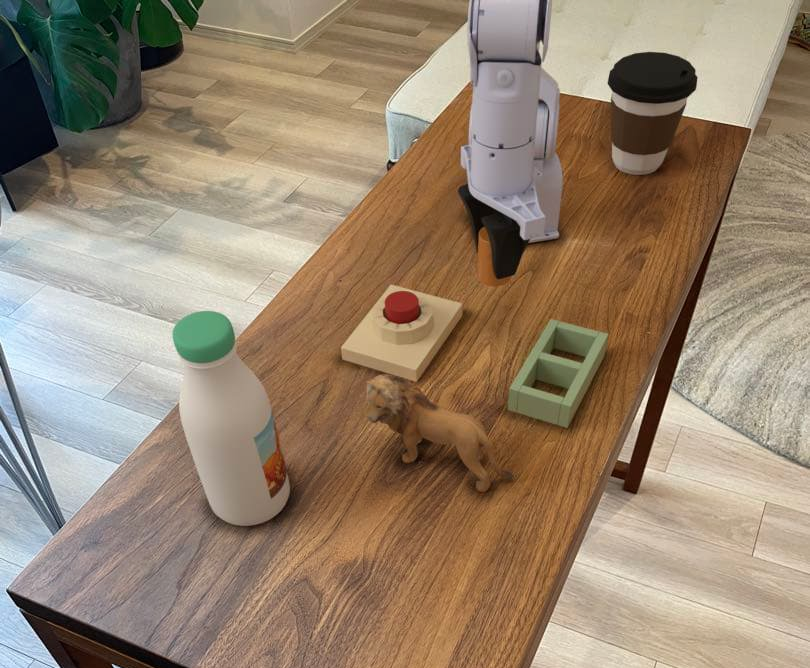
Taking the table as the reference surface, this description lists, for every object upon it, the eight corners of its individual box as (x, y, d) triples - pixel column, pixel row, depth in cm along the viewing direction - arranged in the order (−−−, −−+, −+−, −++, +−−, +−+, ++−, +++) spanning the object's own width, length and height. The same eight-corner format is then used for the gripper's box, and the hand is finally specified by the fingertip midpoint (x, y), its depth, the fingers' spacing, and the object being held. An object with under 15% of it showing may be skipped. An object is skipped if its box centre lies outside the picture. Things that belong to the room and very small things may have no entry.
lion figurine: (360, 462, 81) (352, 393, 74) (381, 425, 84) (375, 356, 77) (505, 500, 77) (511, 432, 70) (521, 460, 80) (528, 391, 73)
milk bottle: (257, 541, 76) (207, 374, 60) (193, 508, 78) (128, 340, 63) (307, 485, 80) (272, 314, 64) (244, 456, 82) (195, 285, 66)
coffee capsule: (470, 279, 86) (471, 236, 82) (488, 262, 88) (490, 219, 84) (501, 290, 85) (503, 247, 81) (518, 272, 87) (521, 229, 83)
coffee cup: (687, 151, 113) (709, 57, 104) (666, 191, 107) (687, 96, 98) (609, 136, 116) (623, 44, 107) (584, 175, 111) (597, 81, 101)
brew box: (391, 296, 97) (389, 270, 94) (462, 315, 94) (462, 289, 91) (342, 359, 90) (338, 334, 88) (416, 382, 88) (415, 356, 85)
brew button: (394, 300, 91) (394, 287, 90) (424, 309, 90) (424, 295, 89) (379, 320, 89) (378, 306, 88) (410, 328, 88) (409, 315, 87)
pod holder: (604, 356, 89) (608, 333, 87) (567, 428, 83) (570, 406, 80) (547, 340, 91) (550, 318, 88) (507, 410, 85) (509, 388, 82)
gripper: (582, 161, 71) (564, 294, 82) (509, 89, 80) (501, 219, 90) (507, 180, 70) (499, 312, 81) (441, 105, 78) (442, 234, 89)
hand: (496, 264), depth 85 cm, fingers closed on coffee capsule, 3 cm apart
